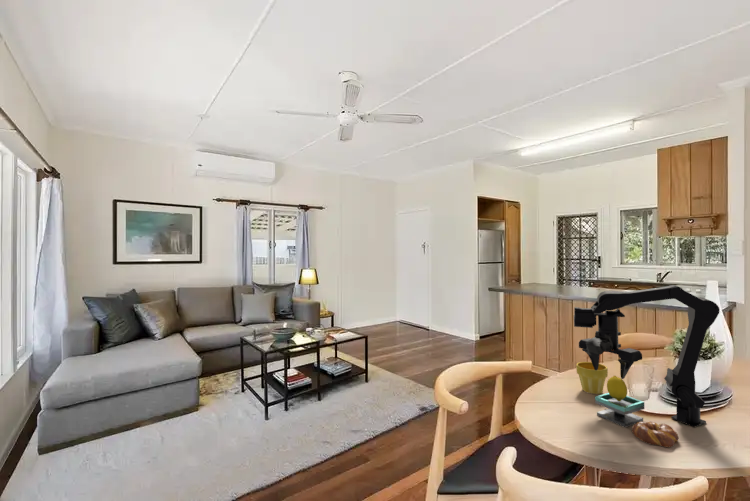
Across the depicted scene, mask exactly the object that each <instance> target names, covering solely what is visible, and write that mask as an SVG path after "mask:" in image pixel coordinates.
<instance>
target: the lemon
mask: <svg viewBox="0 0 750 501" xmlns="http://www.w3.org/2000/svg"><path fill="white" fill-rule="evenodd" d="M606 381H607V382H606V388H607V389H606V390H607V393H609V394H610V395H611V396H612V397H613V398H615V399H616V400H617V401H621V400H622V399H624V398H625V397H626V396H628V387H627V385H626V383H625V381H624V379H621V377H618V376H617V375H613V376H611V377H609V379H608V380H606Z"/></svg>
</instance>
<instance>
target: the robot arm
mask: <svg viewBox="0 0 750 501" xmlns="http://www.w3.org/2000/svg"><path fill="white" fill-rule="evenodd" d="M673 299H674V300H677V301H678V302H679V303H682V304H684V305H685V306H686V307H687V320H688V326H687V328H686V329H687V330H686V333H685V336H684V340H683V343H682V346H681V350H680V353H679V356H678V361H677V364H676V365H675V367H673V369H672V368H670V367H668V368H667V369H666V375H665V377H663V379H664V381H665V384H666V387H667V388H668V390H670V392H671V393H672V395H673V396H674V397H676V406H675V408H676V414H674V415H672V416H671V417H670V418H671V419H672V420H674V421H677V422H680V423H682V424H685V425H686V426H687V425H688V426H690V427H693V428H696V427H699V426H702V425H704V424H707V421H706V420H705V419H701V409H703V408H704V405H705V401H704V400H703V399H702V397H701V396H700V395H699V394H698V393H697V392H696V377H695V376H696V375H695V371H696V367H697V365H698V361H699V358H700V354H701V351H702V347H703V344H704V341H705V338H706V334H707V331H708V329H709V328H710V327H711V326H712V325H713V324H714V323H715V321H716V320H717V318H718V316H719V315H720V306H719V305H718V304H717V303H716V302H715V301H712V300H710V299H707V298H704V297H697V296H696V295H694V294H692V293H690V292H688V291H686V290H684V289H683V288H682V287H680V286H677V285H674V284H669V285H668V286H661V287H654V288H647V289H639V290H631V291H615V290H612V291H610V290H609V291H608V290H606V291H601V292H600V293H599V294H598V295H597V298H596V301H595V303H594V304H592V306H591V308H587V307H586V308H585V307H577V306H575V307H574V309H573V311H574V312H573V314H574V315H573V327H575V328H587V329H588V328H589V329H590V328H591V329H593V327H595V326H597V330H595V334H594V336H593V337H592V338H591V337H589V338H583V339H579V341H578V348H579V349H581V350H582V351H583V352H585V354H587V355H588V357H589V359H590V362H592V364H593V367H594V369H595V370H598V366H599V364H600V355H602V354H604V352H605V353H610V354H615V355H618V357H619V359H617V361H618V362H619V364H620V365H619V366H620V367H619V368H620V369H619V370H620V371H619V372H620V373H619V374H620V378H621V379H622V380H624V379H625V378H626V376H627V374H628V372H629V371H630V368H631V367H633V364H634V363H635V362H639V361H642V360H643V354H642V351H640V350H639V349H634V348H630V347H628V348H624V349H621V347H622V344H621V343H619V336H621V335H622V334H621V331H619V318H625V317H626V316H625V314H624V312H622V311H621V310H620V308H624V307H626V306H630V305H633V304H641V303H649V302H650V303H651V302H656V301H664V300H673ZM597 324H598V325H597Z"/></svg>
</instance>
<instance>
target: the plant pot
mask: <svg viewBox="0 0 750 501" xmlns="http://www.w3.org/2000/svg"><path fill="white" fill-rule="evenodd" d="M575 367H576V374H577V375H578V378H579V381H580V385H581V389H582V391H584V392H585V393H588V394H592V395H602V394H603V392H604V388H605V387H604V386H605V382H606V378H608V377H609V376H608V373H609V372H608V371H609V370H608V367H607V366H606V365H605V364H602V363H599V366H598V370H595V369H594V367H593V364H592V362H591V361H579V362H577V363H576V366H575Z"/></svg>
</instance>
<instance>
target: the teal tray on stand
mask: <svg viewBox="0 0 750 501" xmlns="http://www.w3.org/2000/svg"><path fill="white" fill-rule="evenodd" d="M594 396H595V397H594V401H595V402H594V404H596V405H599V406H601V407H604V408H606V409H603V410H600V411H597V412H596V415H597V416H598V417H601V418H603V419H605V420H607V421H609V422H612V423H614V424H616V425H618V426H621V427H622V428H628V427H630V426H634V425H635V423H637V422H640V421H643V422H644V417H641V416H639V415H637V414H634V413H636V412H641V411H642V410H645V401H643V400H640V399H637V398H635V397H631V396H628V395H627V396H626V397H625V398H624V399H622V400H621V401H617V400H616V399H615V398H613V397H612V396H611V395H610V394H609V392H607V393H606V392H605V393H601V394H598V395H594Z"/></svg>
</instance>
